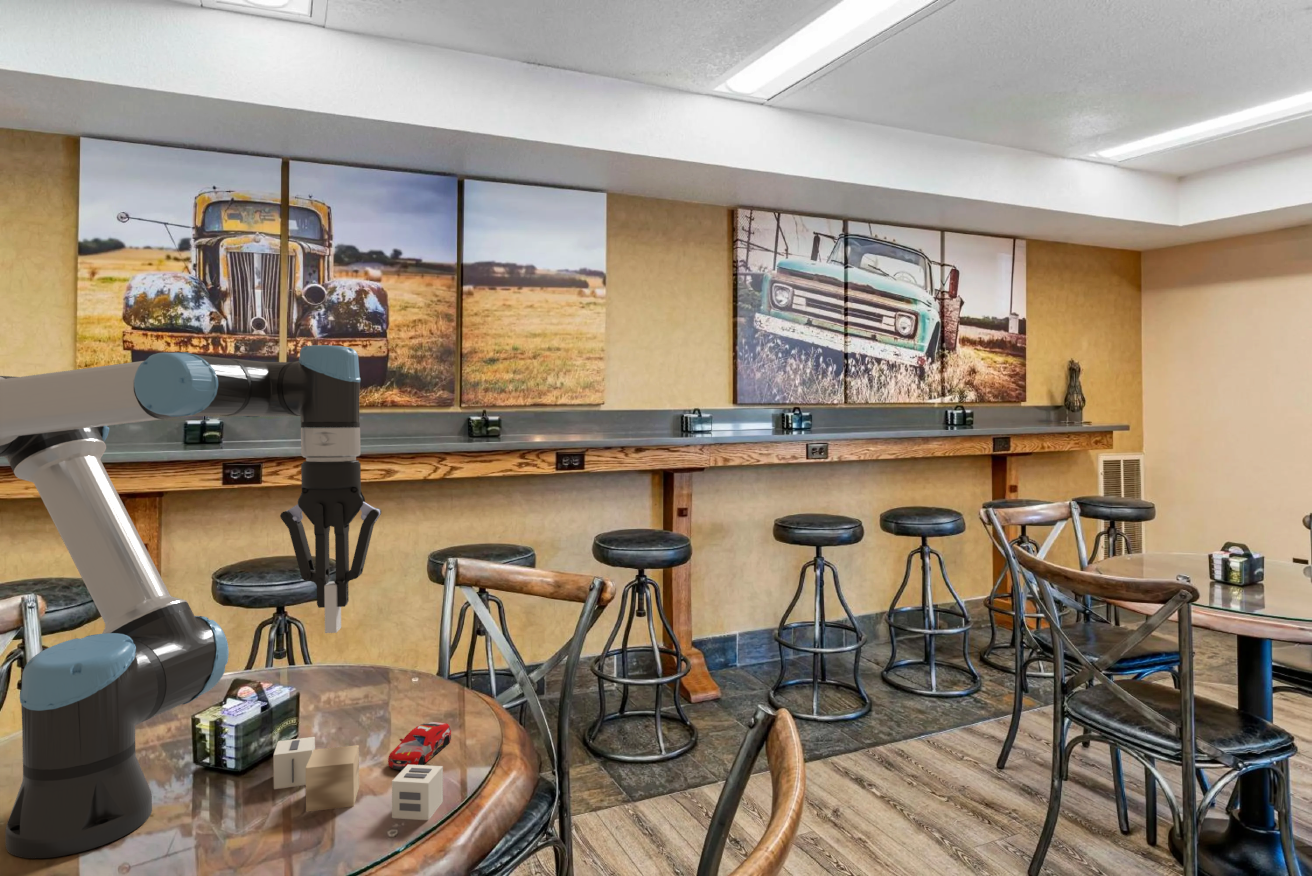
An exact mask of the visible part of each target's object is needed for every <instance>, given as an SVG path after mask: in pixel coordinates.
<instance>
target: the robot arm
mask: <svg viewBox="0 0 1312 876" xmlns="http://www.w3.org/2000/svg"><path fill="white" fill-rule="evenodd" d="M360 376H361V375H360V363H359V354H358V352H357V351H356V350H355V349H354V348H352V347H348V346H343V345H331V344H330V345H329V344H328V345H327V344H326V345H324V344H321V345H319V344H314V345H312V344H311V345H305V346H302V347H301V349H300V351H299V357H298V360H296V361H291V362H290V361H287V362H286V361H259V360H258V361H257V360H249V359H239V358H229V357H218V356H209V355H207V356H206V355H199V354H193V353H190V352H184V351H177V352H176V351H174V352H158V353H153V354H152V355H149V356H148V358H146V359H145V360H140V361H139V360H138V361H133V362H126V363H119V364H118V363H117V364H110V365H102V366H95V367H86V368H79V369H72V370H63V371H56V372H47V373H41V374H32V375H25V376H24V375H23V376H9V375H0V458H5V459H6V461H7V462H8V464H9V466H10V468H11V470H12V472H13V474H14V475H15V477H16V478H18V479H19V480H23V481H27V482H29V483H33V484H34V486H35V488H36V490H37V493H38V494H39V496H40V498H41V500H42V502H43V504H44V506H45V509H47V510H46V511H47V512H48V514H49V516H50V518H51V520H52V522H53V524H54V525H55V528H56V530H57V532H58V534H59V535H60V537H61V539H62V541H63V542H62V543H63V544H64V546H65V547H66V549H67V551H68V554H69V555H70V557H71V559H72V561H73V563H74V565H75V567H76V569H77V571H78V573H79V575H80V577H81V579H82V581H83V583H84V584H85V587H86V588H87V591H88V593H89V594H90V596H91V599H92V600H93V603H94V605H95V607H96V609H97V611H98V612H99V614H100V616H101V619H102V620H103V622H104V629H103V631H102V632H101V633H97V634H90V635H86V636H84V637H81V638H78V637H77V638H72V639H69V640H66V641H65V640H64V641H63V642H59V643H56V644H54V645H52V646H50V647H47V648H45V649H44V650H42V651H40V652H38V653H37V654H36V655H34V656H32V657H31V658H30V659H29V661H28V662H27V663H26V664H25V666H24V667H23V671H22V677H21V680H22V681H21V690H20V692H19V703H20V705H21V730H22V732H21V733H22V734H21V735H22V736H21V737H22V781H21V784H20V787H19V790H18V793H17V796H16V799H15V800H14V804H13V807H12V810H11V811H10V815H9V817H8V820H7V823H6V826H5V848H6V851H7V852H8V853H9V854H11V855H13V856H15V857H19V858H24V859H47V858H49V859H50V858H57V857H64V856H68V855H69V856H70V855H73V854H78V853H82V852H86V851H89V850H93V849H96V848H98V847H101V846H104V845H107V844H110V843H112V842H114V841H116V840H118V839H121V838H123V837H124V836H127V835H128V834H130V833H131V832H134V831H135V830H137V829H138V828H139V827H141V826H142V825H143V824H144V823H145V822H146V821H147V820H148V819H149V818H150V817H151V815H152V812H153V794H152V790H151V788H150V786H149V783H148V781H147V779H146V777H145V774H144V772H143V770H142V767H141V765H140V763H139V760H138V758H137V755H136V754H137V753H136V752H137V751H136V726H137V725H139V724H140V723H143V722H146V721H148V720H150V719H152V718H154V717H157V716H159V715H161V714H163V713H165V712H167V711H171V710H173V709H174V708H176V707H179V706H181V705H187V704H190V703H191V702H192V701H194V700H195V699H198V698H199V697H201V696H202V695H204V694H206V693H208V692H210V691H211V690H212V689H213V688H214V687H216V685H217V684H218V683H219V682H220V680H222V678H223V676H224V675H225V671H226V665H227V664H228V661H229V655H230V654H229V650H230V649H229V644H228V640H227V637H226V634H225V632H224V630H223V628H222V627H221V626H220V624H219V623H217V621H215V620H214V619H209V617H206V616H202V615H194V612H193V610H192V608H191V606H190V605H189V603H188V601H187V600H186V599H184V598H179V597H174V596H172V595H171V594H170V592H169V590H168V587H167V585H166V584H165V583H164V580H163V579H162V576H161V575H160V572H159V571H158V569H157V567H156V565H155V563H154V561H153V559H152V557H151V555H150V553H149V550H147V547H146V545H145V543H144V542H143V539H142V537H141V536H140V534H139V532H138V530H137V528H136V526H135V525H134V524H135V523H134V522H133V520H132V518H131V517H130V515H129V513H128V511H127V509H126V506H125V505H124V503H123V501H122V499H121V498H120V495H119V493H118V491H117V489H116V488H115V486H114V484H113V481H112V480H111V477H110V476H109V474H108V472H107V470H106V468H105V467H104V464H103V462H102V460H101V458H102V457H103V455H104V453H105V452H106V450H107V444H106V443H105V442H106V439H107V438H108V436H109V433H110V427H108V426H115V425H123V424H124V425H125V424H131V423H141V422H149V421H157V420H158V421H159V420H171V419H172V420H173V419H179V418H180V419H181V418H190V417H205V416H206V417H210V416H212V417H213V416H219V417H220V416H221V417H223V416H225V417H226V416H227V417H243V418H244V417H245V418H250V417H252V418H259V417H284V416H285V417H286V416H289V417H290V416H292V417H293V416H294V417H300V441H301V442H300V448H301V449H300V452H301V453H300V454H301V457H303V458H305V461H304V460H303V461H302V463H301V464H300V466H301V467H300V468H301V471H300V473H301V474H300V475H301V477H300V478H301V480H300V481H301V483H300V484H301V493H300V496H299V497H298V499H297V504H295V505H294V506H292V507H291V508H290V509H287V510H285V511H282V512H280V515H279V517H280V519H281V521H282V522H283V523H284V525H285V526H286V528H287V529H288V532H289V536H290V540H291V543H292V547H293V551H294V554H295V558H296V561H297V565H298V569H299V572H300V576H301V579H302V580H303V581H309V582H312V583H314V584H315V586H316V604H317V608H324V634H335V633H336V634H337V633H338V632H339V631H340V629H341V628H342V608H343V607H346V606H347V605H348V603H349V595H350V593H349V582H350V581H353V580H357V579H358V578H359V577H360V576H361V575H362V574H363V571H364V567H365V564H366V558H367V556H368V555H367V554H368V551H369V548H370V547H369V546H370V542H371V538H372V535H373V530H374V526H375V523H376V522H377V521H378V520H379V518H380V516H381V515H382V509H381V508H379V507H374V506H373V505H370V504H369V503H367V502H366V499H365V496H364V495H363V493H362V486H361V485H362V484H361V483H362V481H361V479H362V477H361V476H362V474H361V473H362V472H361V471H362V470H361V465H362V464H361V462H360V460H358V459H357V457H360V456H361V454H362V453H361V427H360V426H361V425H360V424H361V422H360V397H361V396H360V394H361V393H360V391H361V390H360V389H361V388H360V387H361V381H362V379H361V377H360ZM360 511H361V515H360V519H361V521H363V522H362V523H361V527H360V530H359V534H358V538H357V542H356V546H355V550H354V555H353V559H352V563H351V566H350V551H349V549H350V541H349V536H350V535H349V533H350V524H351V523H352V521H354V519H355V517H356V516H357V515H358V513H359V512H360ZM303 514H304V515H305V516H306V518H307V520H309V521H310V523H312V525H313V527H314V528H313V529H314V530H313V533H314V537H315V538H314V540H315V541H314V543H315V549H314V551H315V555H314V556H315V557H314V558H315V563H314V559H313V556H312V553H311V549H310V546H309V543H308V542H309V541H308V538H307V535H306V531H305V527H304V524H303V522H302V520H303V519H304V518H303V517H304V516H303ZM331 527H333V532H334V540H335V541H334V542H335V543H334V544H335V545H334V546H335V547H334V549H335V550H334V552H335V553H334V555H335V556H334V557H335V580H334V581H330V579H331V577H332V575H330V531H331Z"/></svg>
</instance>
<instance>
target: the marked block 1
mask: <svg viewBox="0 0 1312 876" xmlns="http://www.w3.org/2000/svg"><path fill="white" fill-rule="evenodd" d="M314 749H316V737H315V736H309V737H302V738H301V737H300V738H296V739H295V738H293V739H292V738H291V739H286V740H278V741H277V742H276V747H275V749H274V752H273V789H274V790H279V789H285V788H294V787H300V786H306V766H307V764H308V761H309V759H310V757H311V755H312V752H313V750H314Z"/></svg>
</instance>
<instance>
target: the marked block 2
mask: <svg viewBox="0 0 1312 876" xmlns="http://www.w3.org/2000/svg"><path fill="white" fill-rule="evenodd" d="M443 802H444V766H443V765H427V764H424V765H409V764H408V765H407V766H406V767H405V768H404V769H403V770H400V772H399V773H398V774H397V775H396V776H395V777H394V778H393V779H392V780H391V818H392V819H400V820H401V819H403V820H419V821H429V820H430V819H431V817H432V816H433V815H434V814H435V813H436V811H437V810H438V808H439V807H440V806H441V805H442V804H443Z"/></svg>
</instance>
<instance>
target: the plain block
mask: <svg viewBox="0 0 1312 876" xmlns="http://www.w3.org/2000/svg"><path fill="white" fill-rule="evenodd" d="M359 789H360V745H357V744H356V745H346V746H336V747H335V746H334V747H326V748H315V749H314V750H313V752H312V755H311V757H310V759H309V761H308V764H307V766H306V785H305V812H306V813H307V812H315V811H324V810H334V809H342V808H350V807H355V803H356V800H357V796H358V792H359Z"/></svg>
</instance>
